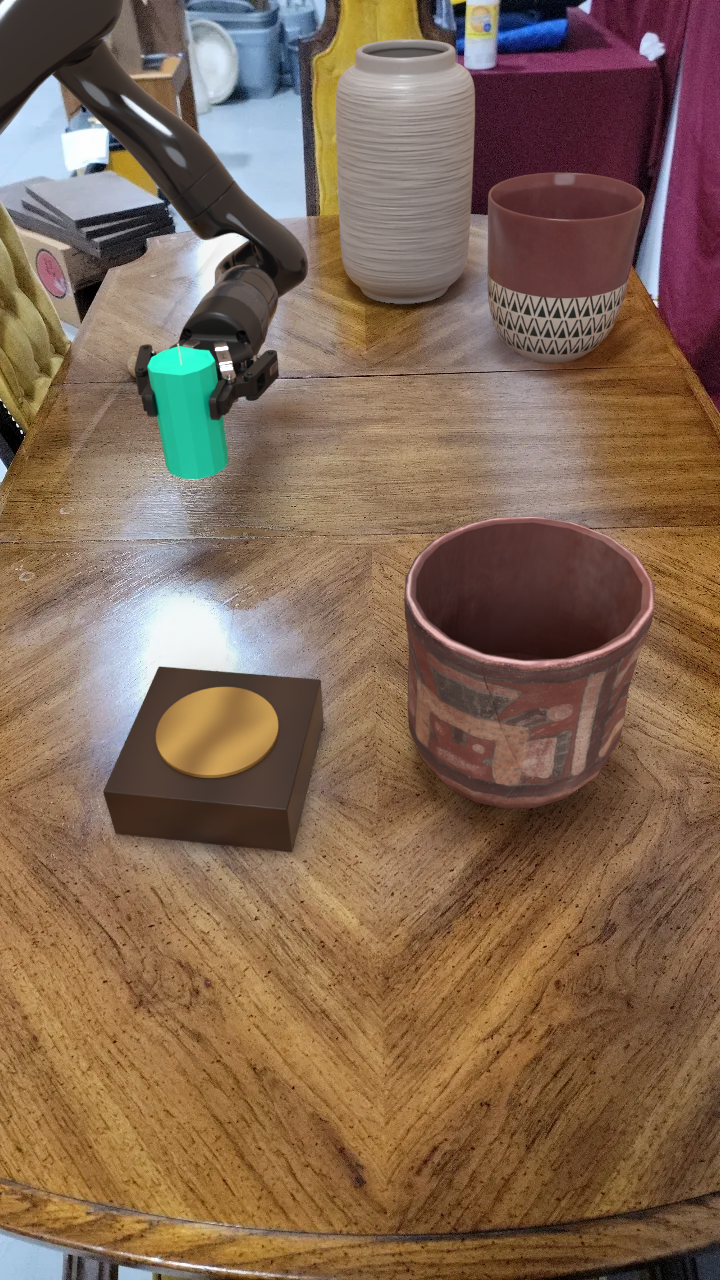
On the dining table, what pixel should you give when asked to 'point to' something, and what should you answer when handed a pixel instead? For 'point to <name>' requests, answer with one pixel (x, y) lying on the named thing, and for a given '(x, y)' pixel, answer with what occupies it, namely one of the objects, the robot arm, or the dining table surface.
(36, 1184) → the dining table surface
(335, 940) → the dining table surface
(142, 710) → the stand
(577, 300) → the planter
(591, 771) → the pottery
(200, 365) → the candle
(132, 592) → the dining table surface
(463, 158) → the vase
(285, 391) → the dining table surface
